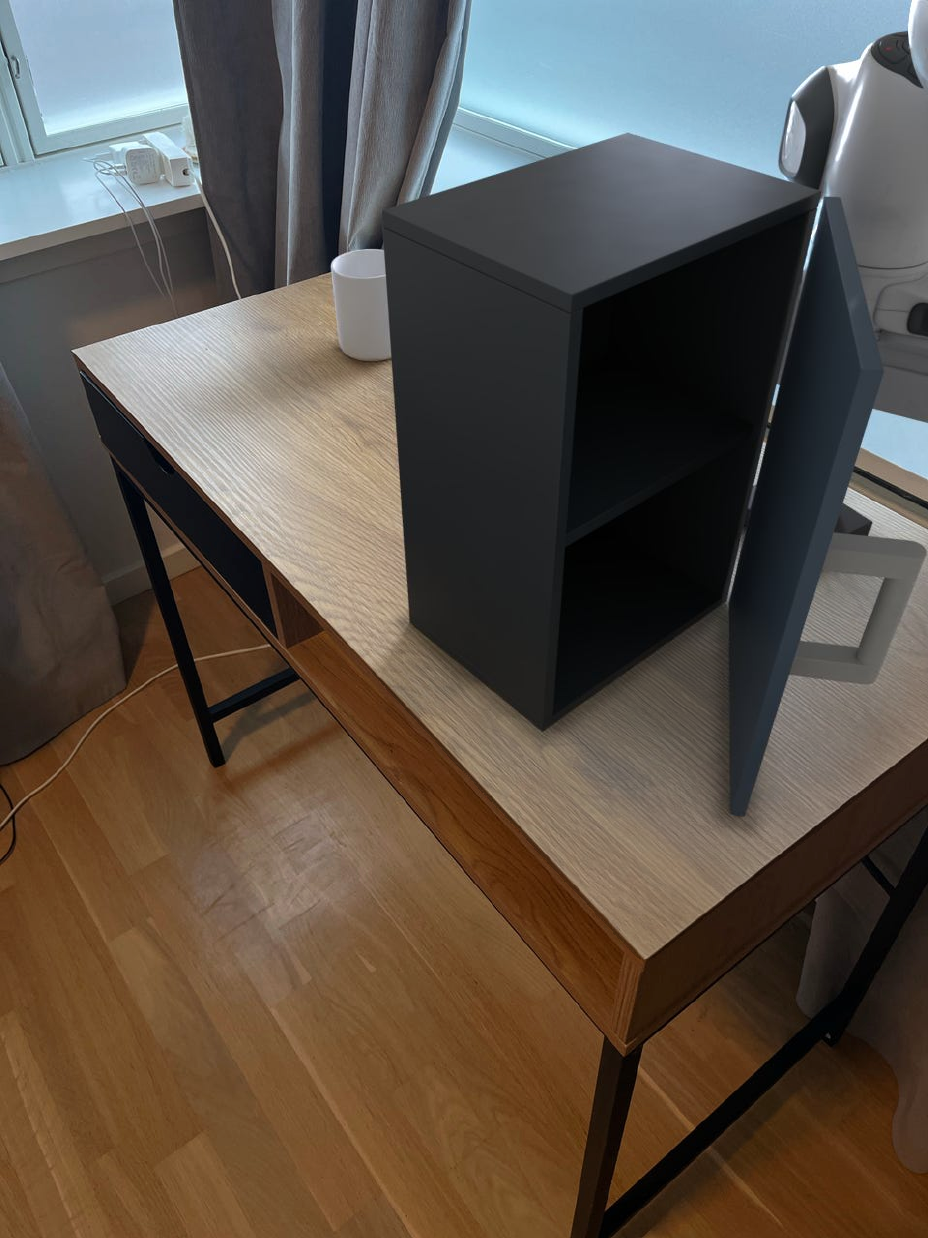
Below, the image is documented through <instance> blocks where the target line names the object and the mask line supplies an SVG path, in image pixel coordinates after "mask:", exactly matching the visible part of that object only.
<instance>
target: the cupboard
mask: <svg viewBox="0 0 928 1238" xmlns="http://www.w3.org/2000/svg"><path fill="white" fill-rule="evenodd" d="M820 196H821V191H819V190H816V189H813V188H809V187H806V186H803V185H800V184H796V183H793V182H790V181H788V180H787V179H783V178H780V177H776V176H773V175H769V174H766V173H763V172H760V171H756V170H753V169H750V168H747V167H743V166H740V165H737V164H734V163H730V162H727V161H723V160H720V159H717V158H714V157H711V156H710V157H709V156H706V155H704V154H701V153H697V152H693V151H691V150H687V149H684V148H681V147H677V146H674V145H670V144H668V143H663V142H661V141H657V140H654V139H651V138H647V137H643V136H641V135H637V134H634V133H630V132H625V133H622V134H619V135H616V136H612V137H609V138H606V139H603V140H600V141H597V142H593V143H591V144H587V145H584V146H581V147H578V148H574V149H571V150H568V151H565V152H561V153H558V154H555V155H552V156H549V157H546V158H543V159H539V160H536V161H534V162H531V163H527V164H524V165H521V166H518V167H515V168H510V169H507V170H505V171H502V172H499V173H495V174H492V175H489V176H486V177H482V178H479V179H477V180H474V181H471V182H467V183H464V184H460V185H457V186H454V187H451V188H448V189H445V190H441V191H439V192H435V193H432V194H428V195H426V196H423V197H419V198H416V199H412V200H410V201H407V202H404V203H400V204H397V205H394V206H391V207H388V208H385V209H382V210H380V212H381V226H382V227H381V228H382V229H381V230H382V242H383V243H382V245H383V250H384V259H385V273H386V288H387V302H388V317H389V331H390V346H391V358H390V359H391V375H392V386H393V402H394V413H395V414H394V416H395V429H396V430H395V431H396V445H397V446H396V447H397V458H398V460H397V461H398V474H399V475H398V476H399V490H400V504H401V517H402V532H403V544H404V545H403V546H404V548H403V549H404V562H405V576H406V577H405V578H406V590H407V605H408V620H409V624H411V626H413V627H414V628H415V629H417V630H418V631H419V632H420V633H421V634H423V635H424V636H425V637H426V638H428V639H429V640H430V641H431V642H432V643H433V644H435V645H437V647H438V648H440V649H441V650H442V651H443V652H444V653H446V654H447V655H448V656H449V657H451V658H452V659H453V660H454V661H455V662H457V663H458V664H459V665H460V666H462V667H463V668H464V669H465V670H466V671H468V672H469V673H470V674H472V675H473V676H474V677H475V678H476V679H478V680H479V681H480V682H481V683H482V684H484V685H485V686H486V687H487V688H488V689H490V690H491V691H492V692H493V693H495V694H496V695H497V696H498V697H500V698H501V699H502V700H503V701H504V702H506V703H507V704H508V705H509V706H511V707H512V708H513V709H514V710H515V711H517V713H519V714H520V715H521V716H522V717H524V718H525V719H526V720H528V722H530V723H531V724H532V725H533V726H534V727H536V728H537V729H538V730H540V731H541V732H544V731H546V730H547V729H549V728H550V727H551V726H552V725H555V723H557V722H558V721H560V720H561V719H562V718H565V716H567V715H568V714H570V713H571V712H573V711H574V710H575V709H577V708H578V707H580V706H581V705H582V704H583V703H585V702H587V701H588V700H589V699H591V698H592V697H594V696H595V695H596V694H598V693H600V691H602V690H604V689H605V688H606V687H608V686H609V685H611V684H612V683H614V682H615V681H616V680H618V679H619V678H620V677H622V676H624V675H625V674H626V673H628V672H629V671H630V670H632V669H633V668H635V667H636V666H637V665H639V664H640V663H642V662H644V660H647V658H649V657H650V656H652V655H653V654H655V653H656V652H657V651H659V650H660V649H661V648H663V647H664V646H666V645H667V644H668V643H670V642H671V641H673V640H674V639H676V638H677V637H679V636H680V635H681V634H682V633H683V634H684V632H686V631H687V630H689V629H690V628H691V627H693V626H694V625H696V624H697V623H698V622H700V621H701V620H703V619H704V618H706V617H707V616H708V615H710V614H711V613H713V612H714V611H715V610H717V609H718V608H720V607H721V606H722V605H724V604H725V603H726V602H727V601H728V597H729V592H730V588H731V582H732V579H733V575H734V571H735V566H736V562H737V557H738V553H739V549H740V544H741V540H742V536H743V531H744V528H745V527H744V523H745V519H746V514H747V510H748V506H749V502H750V497H751V493H752V489H753V485H755V480H756V476H757V471H758V468H759V467H758V466H759V462H760V458H761V454H762V450H763V446H764V445H763V444H764V441H765V436H766V433H767V427H768V424H769V419H770V416H771V412H772V406H773V402H774V398H775V395H776V389H777V386H778V384H777V381H778V377H779V372H780V368H781V364H782V359H783V355H784V351H785V347H786V342H787V338H788V334H789V329H790V325H791V321H792V316H793V312H794V308H795V303H796V299H797V295H798V291H799V286H800V282H801V278H802V273H803V270H804V267H805V263H806V259H807V254H808V250H809V246H810V241H811V237H812V234H813V231H814V225H815V221H816V218H817V217H816V216H817V213H818V207H819V204H820V203H819V200H820Z"/></svg>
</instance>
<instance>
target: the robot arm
mask: <svg viewBox="0 0 928 1238" xmlns="http://www.w3.org/2000/svg"><path fill="white" fill-rule="evenodd" d="M777 165H778V169H779V172H780V173H781V174H782V176H783V177H784V179H785V180H786V181H790V182H793V183H796V184H800V185H803V186H806V187H809V188H813V189H816V190H819V191H821V196H820V200H819V204H820V207H822V202H823V198H824V197H825V196H826V197H840V198H841V202H842V206H843V210H844V214H845V218H846V222H847V226H848V230H849V234H850V238H851V241H852V245H853V249H854V253H855V257H856V261H857V265H858V269H859V273H860V277H861V281H862V285H863V289H864V293H865V297H866V301H867V305H868V309H869V313H870V317H871V321H872V325H873V329H874V333H875V337H876V341H877V345H878V349H879V353H880V357H881V361H882V365H883V369H884V374H883V377H882V380H881V383H880V386H879V390H878V393H877V396H876V399H875V402H874V406H873V409H872V410H876V411H880V412H884V413H887V414H891V415H895V416H899V417H902V418H907V419H910V420H915V421H918V422H923V423H927V424H928V0H912V1H911V5H910V11H909V18H908V30H904V31H896V32H891V33H889V34H885V35H883V36H881V37H879V38H877V39H876V40H874V41H872V42H871V43H870V44H869V45H868V46H867V47H866V48H865V50H864V51H863V53H862V55H861V57H860V58H859V59H855V60H851V61H845V62H839V63H835V64H829V65H827V66H826V65H823V66H821V67H820V68H818V69H817V70H816V71H814V72H813V73H812V74H810V75H809V76H808V77H807V79H805V80H804V81H803V82H802V83H801V85H799V87H798V88H797V89H796V90H795V92H794V93H793V94H792V95H791V96H790V98H789V101H788V105H787V109H786V113H785V118H784V124H783V129H782V134H781V140H780V145H779V152H778V159H777ZM816 228H817V225H816V226H815V228H814V229H813V231H812V235H811V239H810V243H809V248H808V252H807V256H806V260H805V265H804V269H803V273H802V278H801V282H800V286H799V291H798V295H797V299H796V303H795V308H794V312H793V316H792V321H791V325H790V329H789V334H788V338H787V342H786V347H785V351H784V355H783V359H782V364H781V368H780V372H779V377H778V381H777V386H780V381H781V377H782V373H783V369H784V364H785V360H786V356H787V352H788V347H789V343H790V339H791V334H792V330H793V326H794V322H795V317H796V313H797V309H798V305H799V300H800V296H801V292H802V288H803V283H804V279H805V275H806V271H807V266H808V262H809V258H810V253H811V249H812V245H813V241H814V236H815V232H816Z"/></svg>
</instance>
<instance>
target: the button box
mask: <svg viewBox="0 0 928 1238" xmlns="http://www.w3.org/2000/svg"><path fill="white" fill-rule="evenodd" d="M755 488H756V484H753V489H752V493H751V497H750V502H749V506H748V510H747V514H746V519H745V523H744V527H743V528H745V529H746V526H747V522H748V518H749V513H750V509H751V505H752V501H753V496H754V492H755ZM873 523H874V522H873V521H872V520H871V519H870V518H868V517H866V516H865V515H863V514H862V513H860V512H858V511H856V510H855V509H853V507H850V506H849V505H847V504H846V503H845V502H843V504H842V508H841V511H840V514H839V517H838V520H837V524H836V527H835V530H834V533H844V534H853V535H863V536H869V534H870V531H871V529H872V526H873Z"/></svg>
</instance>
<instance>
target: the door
mask: <svg viewBox="0 0 928 1238" xmlns="http://www.w3.org/2000/svg"><path fill="white" fill-rule="evenodd" d="M820 207H821V206H820ZM816 226H817V228H816V227H815V228H816V232H815V236H814V241H813V245H812V249H811V253H810V258H809V262H808V266H807V271H806V275H805V279H804V283H803V288H802V292H801V296H800V300H799V305H798V309H797V313H796V317H795V322H794V326H793V330H792V334H791V339H790V343H789V347H788V352H787V356H786V360H785V364H784V369H783V373H782V377H781V381H780V385H778V386H779V387H778V391H777V395H776V397H775V398H776V399H775V403H774V407H773V412H772V416H771V419H770V424H769V429H768V433H767V438H766V441H765V446H764V450H763V453H762V458H761V463H760V467H759V471H758V475H757V480H756V483H755V485H756V488H755V492H754V496H753V501H752V505H751V509H750V513H749V518H748V522H747V526H746V528H745V531H744V536H743V538H742V539H743V540H742V544H741V548H740V552H739V557H738V560H737V565H736V568H735V574H734V578H733V582H732V586H731V589H730V595H729V599H728V603H727V606H728V607H727V614H728V617H727V619H728V621H727V622H728V624H727V625H728V628H727V629H728V631H727V632H728V719H729V720H728V721H729V722H728V724H729V725H728V730H729V731H728V733H729V814H730V815H731V816H732V815H734V816H740V817H745V816H746V814H747V810H748V808H749V804H750V801H751V799H752V795H753V791H754V788H755V785H756V782H757V778H758V775H759V773H760V769H761V765H762V762H763V760H764V756H765V753H766V749H767V748H768V743H769V740H770V737H771V734H772V731H773V728H774V725H775V721H776V718H777V715H778V712H779V708H780V705H781V702H782V700H783V699H782V698H783V695H784V692H785V690H786V686H787V683H788V681H789V676H796V677H804V678H810V679H811V678H812V679H821V680H826V681H827V680H828V681H835V682H842V683H850V684H858V685H859V684H860V685H871V684H873V683H875V682H876V681H877V680H878V679H877V678H878V676H879V674H880V671H881V668H882V666H883V663H884V661H885V659H886V656H887V653H888V651H889V648H890V646H891V644H892V642H893V639H894V636H895V634H896V631H897V629H898V627H899V624H900V621H901V619H902V616H903V614H904V611H905V609H906V607H907V604H908V602H909V599H910V598H911V594H912V592H913V589H914V587H915V585H916V582H917V580H918V577H919V575H920V572H921V569H922V567H923V565H924V562H925V560H926V557H927V555H928V550H927V548H926V546H924V545H923V544H922V543H919V542H917V541H914V540H909V539H902V538H890V537H882V536H871V535H868V536H863V535H853V534H844V533H834V530H835V527H836V524H837V520H838V517H839V514H840V511H841V508H842V504H843V503H844V501H845V498H846V494H847V492H848V488H849V485H850V481H851V479H852V476H853V473H854V469H855V467H856V462H857V459H858V456H859V454H860V450H861V446H862V444H863V440H864V437H865V434H866V431H867V428H868V425H869V421H870V418H871V416H872V411H873V410H874V409H873V406H874V402H875V399H876V396H877V393H878V390H879V386H880V383H881V380H882V377H883V374H884V369H883V365H882V361H881V357H880V353H879V349H878V345H877V341H876V337H875V333H874V329H873V325H872V321H871V317H870V313H869V309H868V305H867V301H866V297H865V293H864V289H863V285H862V281H861V277H860V273H859V269H858V265H857V261H856V257H855V253H854V249H853V245H852V241H851V238H850V234H849V230H848V226H847V222H846V218H845V214H844V210H843V206H842V202H841V198H840V197H826V196H825V197H824V198H823V202H822V207H821V208H820V211H819V216H818V220H817V224H816ZM822 572H827V573H835V574H836V573H839V574H847V575H854V576H855V575H857V576H864V577H875V578H882V583H881V585H880V588H879V591H878V593H877V596H876V599H875V602H874V604H873V607H872V609H871V612H870V614H869V617H868V620H867V623H866V625H865V628H864V631H863V634H862V636H861V639H860V642H859V645H858V647H857V646H849V645H840V644H831V643H826V642H825V643H823V642H815V641H807V640H801V638H802V635H803V631H804V629H805V625H806V622H807V619H808V616H809V612H810V610H811V606H812V603H813V600H814V598H815V597H814V596H815V594H816V590H817V587H818V584H819V581H820V577H821V575H822Z"/></svg>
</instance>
